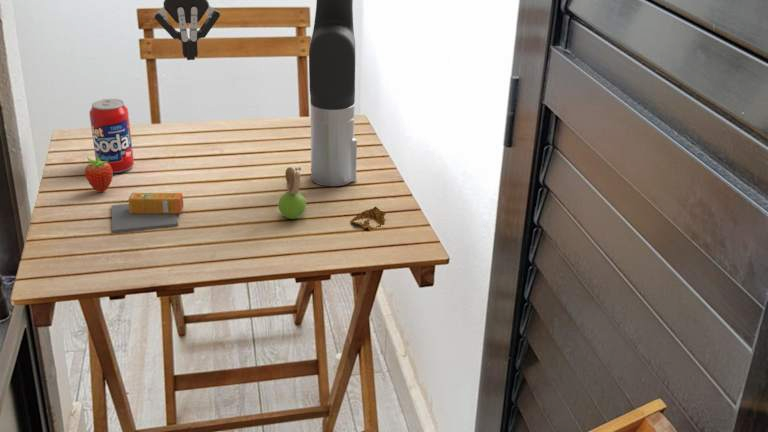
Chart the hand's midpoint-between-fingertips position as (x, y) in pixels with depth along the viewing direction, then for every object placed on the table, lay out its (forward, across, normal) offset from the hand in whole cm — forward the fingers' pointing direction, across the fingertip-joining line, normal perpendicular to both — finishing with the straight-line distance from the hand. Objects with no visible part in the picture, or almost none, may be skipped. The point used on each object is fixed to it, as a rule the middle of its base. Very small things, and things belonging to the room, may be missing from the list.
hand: (190, 58), depth 166 cm
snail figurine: (+27, -16, +21) cm, 38 cm away
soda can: (+27, +17, -12) cm, 34 cm away
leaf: (+28, -30, +26) cm, 48 cm away
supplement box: (+25, +4, +14) cm, 29 cm away
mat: (+27, +12, +14) cm, 32 cm away
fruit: (+27, +20, 0) cm, 34 cm away
